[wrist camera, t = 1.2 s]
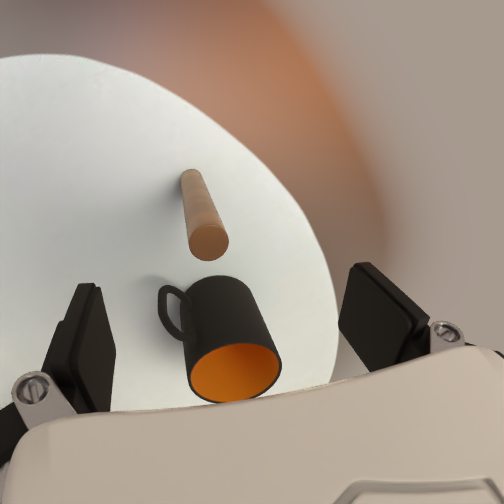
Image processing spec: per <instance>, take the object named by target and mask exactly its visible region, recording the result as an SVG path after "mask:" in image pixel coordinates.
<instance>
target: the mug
mask: <svg viewBox="0 0 504 504" xmlns="http://www.w3.org/2000/svg"><path fill="white" fill-rule="evenodd" d="M168 293H172V294H174V295H176V296H177V297H178V298H180V299H181V304H180V317H181V328H182V332H181V331H179V330H178V329H177V328H176V327H175V326H174V325H173V323H172V322H171V320H170V318H169V316H168V313H167V294H168ZM158 314H159V318H160V320H161V322H162V324H163V326H164V327H165V329H166V330H167V331H168V332H169V333H170V334H171V335H172V336H173V337H174V338H176V339H177V340H180V341H183V346H184V355H185V363H186V371H187V378H188V383H189V386H190V388H191V390H192V391H193V392H194V393H195V394H196V395H197V396H198V397H200V398H201V399H203V400H205V401H208V402H211V403H216V404H218V403H226V402H233V401H240V400H246V399H253V398H256V397H258V396H260V395H261V394H263V393H264V392H266V391H267V390H269V389H270V388H271V387H272V386H273V385H274V384H275V382H276V381H277V379H278V378H279V376H280V373H281V370H282V362H281V358H280V356H279V354H278V351H277V349H276V347H275V344H274V342H273V340H272V338H271V335H270V333H269V331H268V329H267V326H266V324H265V322H264V320H263V317H262V315H261V313H260V311H259V308H258V306H257V304H256V302H255V299H254V297H253V295H252V293H251V291H250V289H249V288H248V287H247V286H246V285H245V284H244V283H243V282H241V281H240V280H238V279H235V278H233V277H229V276H211V277H208V278H204V279H202V280H200V281H198V282H196V283H195V284H193V285H192V286H191V287H190V288H189V289H188V290H187V291H186V293H184V292H182V291H181V290H180V289H178V288H176V287H174V286H171V285H165V286H162V287H161V288H160V289H159V292H158Z"/></svg>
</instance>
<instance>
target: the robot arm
mask: <svg viewBox="0 0 504 504" xmlns="http://www.w3.org/2000/svg"><path fill="white" fill-rule="evenodd" d="M429 319H430V317H429V316H428V315H427V314H426V313H425V312H424V311H423V310H422V309H421V308H420V307H419V306H418V305H416V303H414V302H413V301H412V300H411V299H410V298H409V297H408V296H407V295H405V293H404V292H402V291H401V290H400V289H399V288H398V287H397V286H396V285H395V284H394V283H392V282H391V281H390V280H389V279H388V278H387V277H386V276H384V274H382V273H381V272H380V271H379V270H378V269H377V268H376V267H374V266H373V265H372V264H371V263H370V262H362V263H356V264H354V266H353V267H352V268H351V269H350V272H349V276H348V281H347V286H346V290H345V295H344V299H343V304H342V308H341V312H340V316H339V320H338V327H339V330H340V331H341V332H342V334H343V335H344V337H345V338H346V339H347V341H348V342H349V344H350V345H351V346H352V348H353V349H354V351H355V352H356V353H357V355H358V356H359V358H360V359H361V360H362V362H363V363H364V364H365V366H366V367H367V369H368V370H369V372H370V373H367V374H363V375H360V376H356V377H352V378H348V379H344V380H340V381H336V382H332V383H328V384H324V385H320V386H315V387H311V388H306V389H302V390H297V391H292V392H287V393H282V394H276V395H271V396H265V397H259V398H253V399H246V400H240V401H233V402H226V403H218V404H210V405H201V406H191V407H179V408H167V409H153V410H135V411H116V412H110V406H111V394H112V384H113V375H114V366H115V358H116V348H115V343H114V340H113V336H112V332H111V329H110V325H109V321H108V317H107V313H106V309H105V305H104V301H103V296H102V292H101V288H100V287H96V286H95V284H94V283H81V284H78V286H77V288H76V290H75V293H74V295H73V298H72V300H71V302H70V305H69V307H68V310H67V312H66V315H65V318H64V320H63V321H60V322H59V323H58V325H57V327H56V330H55V333H54V335H53V338H52V341H51V343H50V346H49V349H48V352H47V354H46V357H45V360H44V363H43V366H42V369H41V372H39V371H34V372H29V373H26V374H24V375H22V376H21V377H20V378H18V380H17V381H16V382H15V383H14V385H13V388H12V398H13V401H14V402H12V403H11V404H9V405H8V406H6V407H5V408H3V409H2V410H0V504H504V355H503V354H502V353H500V352H498V351H493V350H491V349H489V348H486V347H481V346H476V345H473V344H469V343H466V342H465V341H464V335H463V333H462V331H461V330H460V329H459V328H458V327H457V326H455V325H454V324H451V323H449V322H446V321H436V322H433V323H432V324H431V326H430V327H429V326H428V325H427V323H428V321H429Z"/></svg>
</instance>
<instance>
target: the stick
mask: <svg viewBox="0 0 504 504" xmlns="http://www.w3.org/2000/svg"><path fill="white" fill-rule="evenodd" d="M180 182H181V191H182V199H183V207H184V214H185V222H186V229H187V236H188V243H189V248H190V251H191V253H192V254H193V255H194V256H195V257H196V258H198V259H200V260H203V261H212V260H216V259H218V258H220V257H221V256H222V255H223V254H224V253H225V252H226V250H227V248H228V244H229V239H228V235H227V233H226V231H225V228H224V226H223V224H222V221H221V219H220V217H219V215H218V212H217V210H216V208H215V205H214V203H213V201H212V199H211V196H210V194H209V192H208V189H207V187H206V185H205V182H204V180H203V178H202V175H201V174H200V172H199V171H197V170H195V169H189V170H186V171H185V172H184V173H183V174H182V175H181V178H180Z"/></svg>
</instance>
